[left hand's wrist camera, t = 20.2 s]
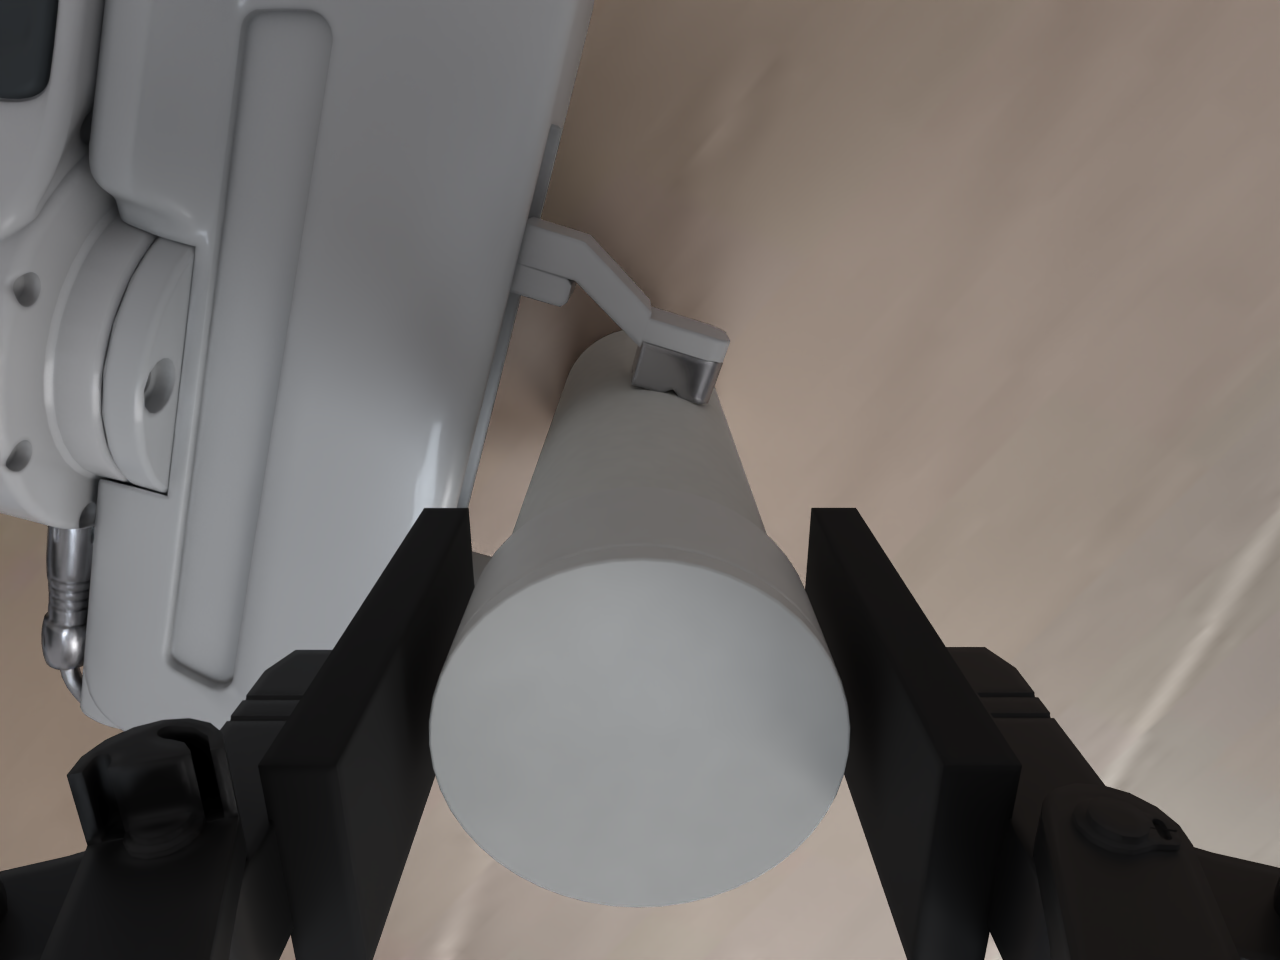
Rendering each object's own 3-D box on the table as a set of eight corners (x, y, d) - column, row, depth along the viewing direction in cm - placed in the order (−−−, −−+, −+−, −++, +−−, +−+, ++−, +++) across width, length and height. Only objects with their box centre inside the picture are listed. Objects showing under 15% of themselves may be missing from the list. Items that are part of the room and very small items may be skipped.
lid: (453, 766, 13) (416, 885, 11) (480, 461, 11) (442, 528, 9) (774, 805, 13) (800, 928, 11) (849, 512, 12) (898, 590, 9)
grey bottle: (742, 370, 25) (887, 642, 10) (672, 499, 26) (713, 895, 12) (603, 301, 24) (549, 491, 10) (538, 437, 26) (408, 780, 11)
